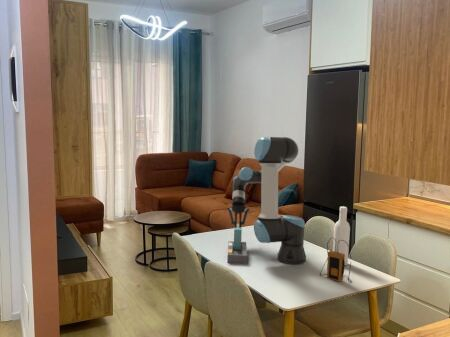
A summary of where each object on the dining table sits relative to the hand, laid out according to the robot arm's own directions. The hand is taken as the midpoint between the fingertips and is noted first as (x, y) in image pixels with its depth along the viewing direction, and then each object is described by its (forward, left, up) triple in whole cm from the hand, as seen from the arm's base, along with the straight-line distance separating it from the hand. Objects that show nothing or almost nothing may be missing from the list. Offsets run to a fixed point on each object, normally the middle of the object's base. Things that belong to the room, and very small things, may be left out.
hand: (237, 234), depth 247 cm
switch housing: (-9, +5, -9) cm, 13 cm away
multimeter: (-56, -23, -9) cm, 61 cm away
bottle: (-41, -38, -9) cm, 57 cm away
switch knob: (-4, +2, -6) cm, 8 cm away
